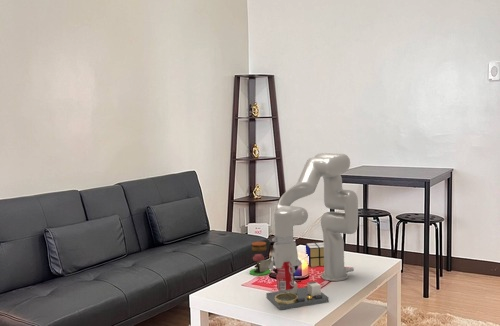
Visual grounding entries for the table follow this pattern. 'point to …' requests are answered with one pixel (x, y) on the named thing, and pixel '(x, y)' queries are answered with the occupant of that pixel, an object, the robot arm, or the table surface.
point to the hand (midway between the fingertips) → (285, 281)
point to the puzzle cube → (315, 254)
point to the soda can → (285, 277)
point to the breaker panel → (302, 300)
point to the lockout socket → (286, 295)
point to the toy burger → (260, 260)
